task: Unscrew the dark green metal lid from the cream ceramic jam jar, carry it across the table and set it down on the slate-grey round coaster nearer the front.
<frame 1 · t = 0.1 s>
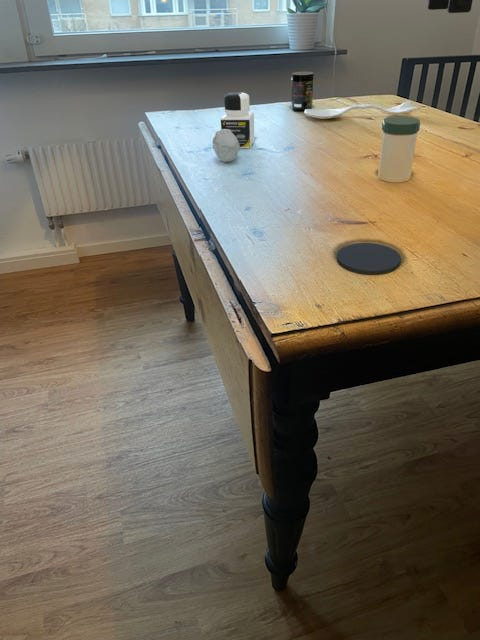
hand: (447, 10, 77), 29 cm above the table, tool pointing down, fingers open, 9 cm apart
medicine bottle: (238, 145, 127), on the table
jar lid: (401, 122, 96), point 11 cm above the table, screwed on, not yet turned
spoon: (359, 117, 146), on the table
coaster: (368, 259, 72), on the table
supplement container: (301, 110, 158), on the table
jar: (394, 177, 101), on the table
grey rock: (227, 162, 115), on the table
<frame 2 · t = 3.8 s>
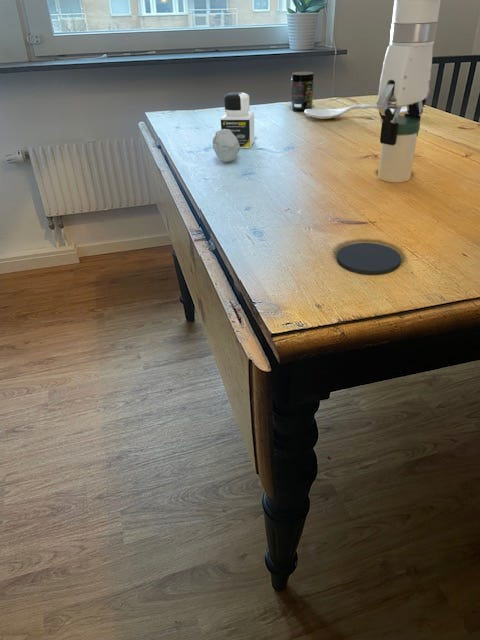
hand: (399, 139, 97), 8 cm above the table, tool pointing down, fingers closed on jar lid, 6 cm apart
jar lid: (401, 122, 96), point 11 cm above the table, screwed on, not yet turned, touching gripper
everything else where it was.
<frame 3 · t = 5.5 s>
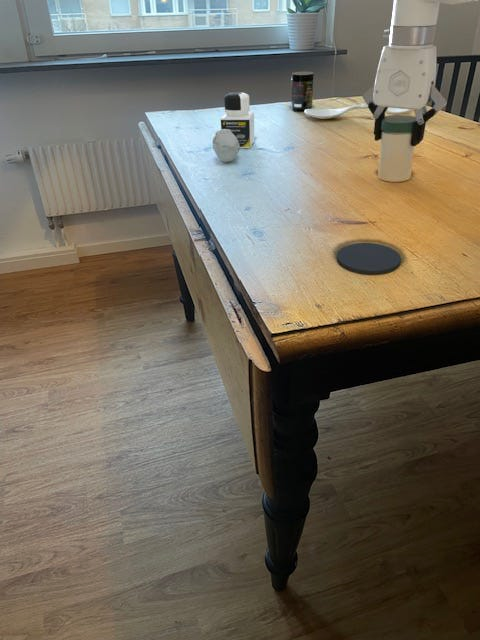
hand: (397, 140, 98), 7 cm above the table, tool pointing down, fingers closed on jar lid, 6 cm apart
jar lid: (399, 121, 96), point 11 cm above the table, turned 99° so far, risen 0.1 cm, still on its thread, touching gripper
jar: (394, 176, 101), on the table, touching gripper
everything else where it was.
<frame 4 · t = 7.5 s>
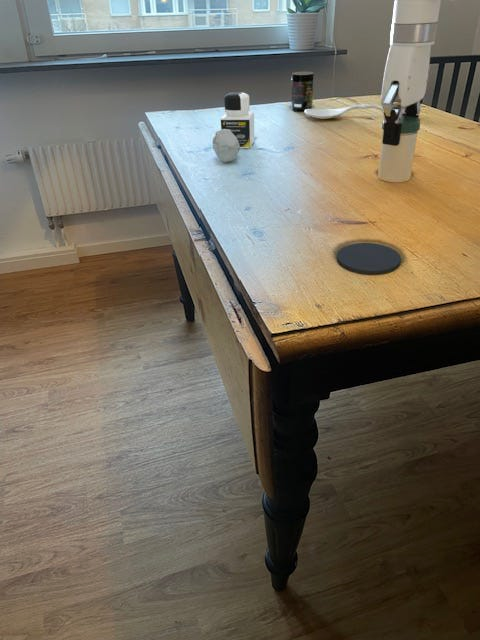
hand: (399, 139, 97), 7 cm above the table, tool pointing down, fingers closed on jar lid, 6 cm apart
jar lid: (401, 121, 95), point 11 cm above the table, turned 107° so far, risen 0.1 cm, still on its thread, touching gripper
jar: (394, 177, 101), on the table
everything else where it was.
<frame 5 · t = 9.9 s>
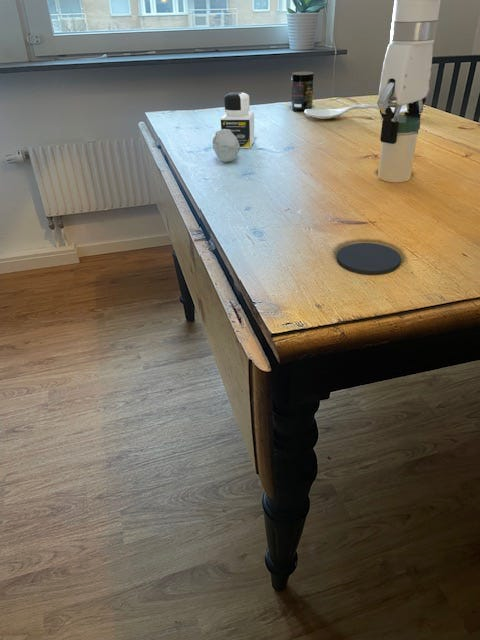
hand: (399, 137, 97), 8 cm above the table, tool pointing down, fingers closed on jar lid, 6 cm apart
jar lid: (401, 120, 95), point 11 cm above the table, turned 198° so far, risen 0.3 cm, still on its thread, touching gripper
everything else where it was.
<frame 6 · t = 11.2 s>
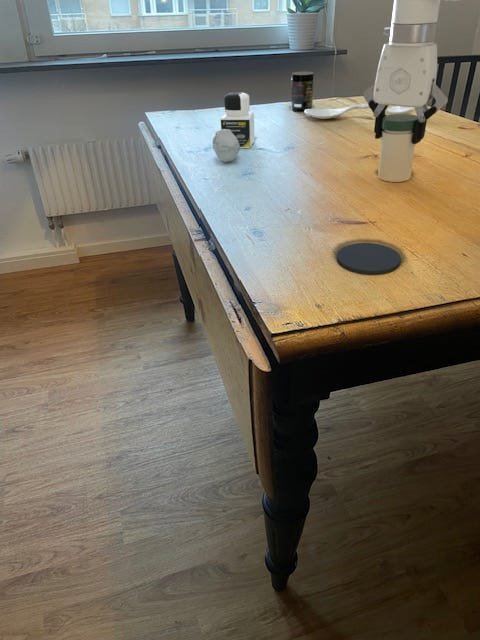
hand: (397, 139, 97), 7 cm above the table, tool pointing down, fingers closed on jar lid, 6 cm apart
jar lid: (400, 119, 95), point 11 cm above the table, turned 297° so far, risen 0.4 cm, still on its thread, touching gripper
everything else where it was.
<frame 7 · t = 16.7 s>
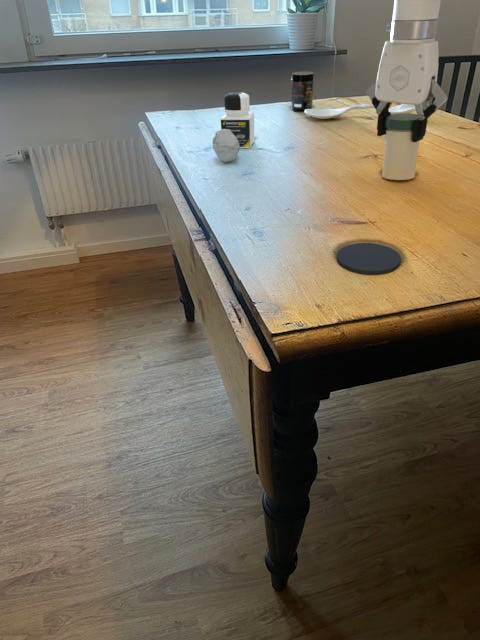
hand: (399, 136, 97), 8 cm above the table, tool pointing down, fingers closed on jar lid, 6 cm apart
jar lid: (404, 119, 96), point 11 cm above the table, off its thread, touching gripper
everything else where it was.
when the fingers open (2 cm above the table, at t = 24.7 s): jar lid drops 3 cm, resting on coaster.
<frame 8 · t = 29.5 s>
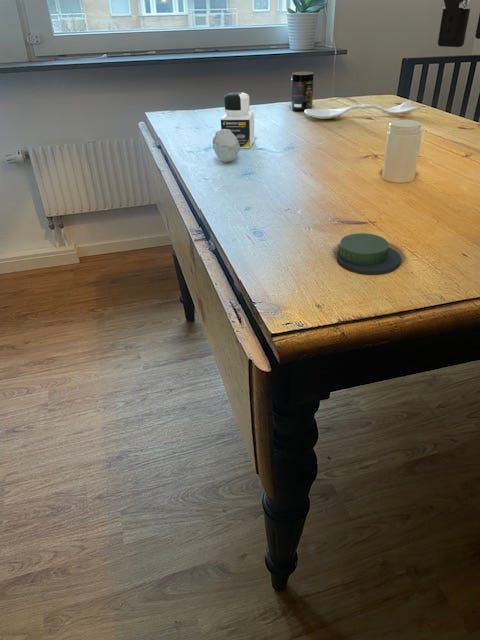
hand: (469, 42, 65), 26 cm above the table, tool pointing down, fingers open, 9 cm apart
jar lid: (363, 245, 72), point 2 cm above the table, off its thread, touching coaster
jar: (398, 177, 101), on the table
everything else where it was.
at the end: jar lid came off its thread; jar lid inside the target area on the coaster (0.9 cm from its centre), point 2.0 cm above the coaster's base; the gripper is holding nothing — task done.
